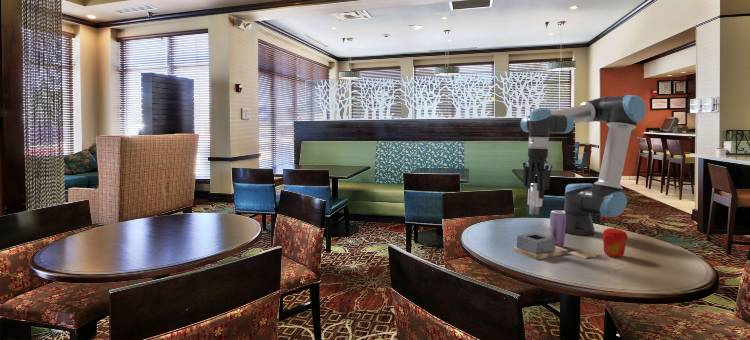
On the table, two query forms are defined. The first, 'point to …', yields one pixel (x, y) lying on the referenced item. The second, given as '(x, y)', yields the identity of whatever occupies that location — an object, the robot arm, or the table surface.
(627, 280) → the table surface
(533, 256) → the oak board
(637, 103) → the robot arm
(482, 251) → the table surface
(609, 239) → the apple
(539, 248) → the socket block
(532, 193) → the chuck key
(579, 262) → the table surface
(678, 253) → the table surface
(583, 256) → the cork coaster
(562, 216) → the beverage can
